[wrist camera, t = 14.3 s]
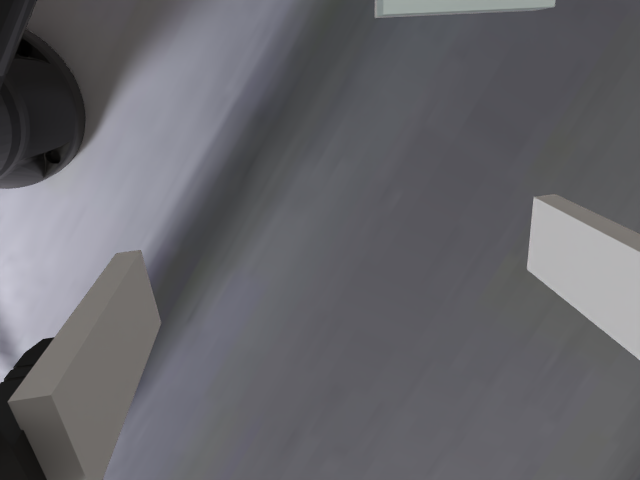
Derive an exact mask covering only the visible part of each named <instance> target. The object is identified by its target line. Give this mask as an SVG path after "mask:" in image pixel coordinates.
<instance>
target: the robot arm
mask: <svg viewBox="0 0 640 480" xmlns="http://www.w3.org/2000/svg"><path fill="white" fill-rule="evenodd" d="M36 1H37V0H0V189H11V188H20V187H25V186H29V185H33V184H36V183H38V182H41V181H43V180H45V179H47V178H49V177H50V176H52V175H54V174H56V173H57V172H59V171H60V170H62V169H63V168H64V167H65V166H66V165H67V164H68V163H69V162H70V161H71V160H72V159H73V157H74V156H75V154H76V153H77V151H78V149H79V147H80V144H81V142H82V139H83V135H84V129H85V110H84V104H83V99H82V96H81V93H80V90H79V87H78V85H77V82H76V80H75V78H74V77H73V75H72V73H71V71H70V70H69V68H68V67H67V65H66V64H65V63H64V61H63V60H62V59H61V58H60V57H59V55H58V54H57V53H56V52H55V51H54V50H53V49H52V48H51V47H50V46H49V45H47V44H46V43H45V42H44V41H43V40H41V39H40V38H39V37H37V36H36V35H34V34H33V33H31V32H29V31H28V30H26V26H27V24H28V21H29V19H30V16H31V14H32V11H33V9H34V6H35V4H36ZM527 270H529V271H530V272H531V273H532V274H534V275H535V276H536V277H537V278H539V279H540V280H541V281H542V282H544V283H545V284H546V285H547V286H548V287H550V288H551V289H552V290H553V291H555V292H556V293H557V294H558V295H560V296H561V297H562V298H563V299H565V300H566V301H567V302H568V303H570V304H571V305H572V306H573V307H575V308H576V309H577V310H578V311H580V312H581V313H582V314H583V315H584V316H586V317H587V318H588V319H589V320H591V321H592V322H593V323H594V324H596V325H597V326H598V327H599V328H601V329H602V330H603V331H604V332H606V333H607V334H608V335H609V336H611V337H612V338H613V339H614V340H615V341H617V342H618V343H619V344H620V345H622V346H623V347H624V348H625V349H627V350H628V351H629V352H630V353H632V354H633V355H634V356H635V357H637V358H638V359H639V360H640V234H639V233H636V232H634V231H632V230H630V229H628V228H626V227H624V226H622V225H619V224H617V223H615V222H613V221H611V220H609V219H607V218H605V217H603V216H600V215H598V214H596V213H594V212H592V211H590V210H588V209H586V208H584V207H581V206H579V205H577V204H575V203H573V202H571V201H569V200H567V199H565V198H562V197H560V196H558V195H556V194H552V195H545V196H537V197H534V200H533V211H532V222H531V232H530V243H529V254H528V264H527ZM160 325H161V321H160V317H159V313H158V310H157V306H156V303H155V299H154V296H153V292H152V288H151V285H150V281H149V278H148V274H147V270H146V267H145V263H144V260H143V256H142V252H141V250H137V251H130V252H122V253H116V254H115V256H114V257H113V258H112V260H111V261H110V263H109V264H108V265H107V267H106V268H105V269H104V271H103V272H102V273H101V275H100V276H99V278H98V279H97V280H96V282H95V283H94V284H93V286H92V287H91V288H90V290H89V291H88V293H87V294H86V295H85V297H84V298H83V299H82V301H81V302H80V304H79V305H78V306H77V308H76V309H75V310H74V312H73V313H72V314H71V316H70V317H69V319H68V320H67V321H66V323H65V324H64V325H63V327H62V328H61V329H60V331H59V332H58V334H57V335H56V336H55V337H53V338H47V339H43V340H41V341H40V342H39V343H37V344H36V345H34V346H33V347H32V348H30V349H29V350H28V351H26V352H25V353H24V354H23V356H22V357H21V358H20V359H19V361H18V362H17V363H16V364H15V366H14V369H13V370H11V371H10V372H9V373H8V375H7V376H6V377H5V378H4V382H1V383H0V480H103V477H104V475H105V472H106V469H107V467H108V464H109V461H110V459H111V456H112V453H113V451H114V448H115V445H116V442H117V440H118V437H119V434H120V432H121V429H122V426H123V424H124V421H125V418H126V416H127V413H128V410H129V408H130V405H131V402H132V400H133V397H134V394H135V392H136V389H137V386H138V384H139V381H140V378H141V376H142V373H143V370H144V368H145V365H146V362H147V360H148V357H149V354H150V352H151V349H152V346H153V344H154V341H155V338H156V336H157V333H158V330H159V327H160Z"/></svg>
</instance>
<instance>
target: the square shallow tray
mask: <svg viewBox="0 0 640 480" xmlns="http://www.w3.org/2000/svg"><path fill="white" fill-rule="evenodd" d="M550 7H555V0H375V18H382V17H404V16H426V15H448V14H469V13H491V12H513V11H534V10H540V9H545V8H550Z"/></svg>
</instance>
